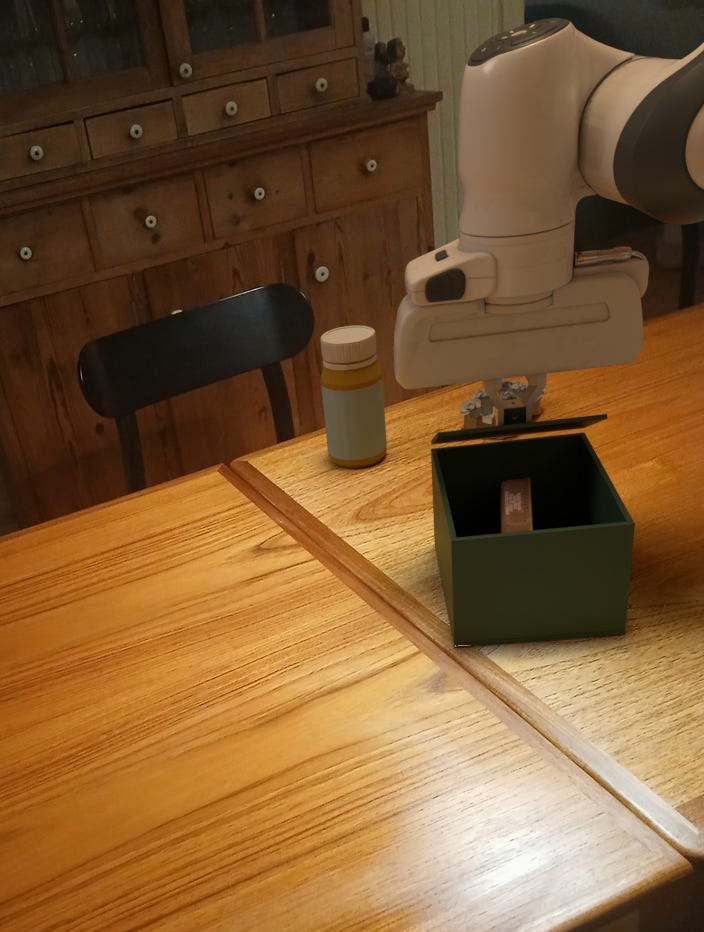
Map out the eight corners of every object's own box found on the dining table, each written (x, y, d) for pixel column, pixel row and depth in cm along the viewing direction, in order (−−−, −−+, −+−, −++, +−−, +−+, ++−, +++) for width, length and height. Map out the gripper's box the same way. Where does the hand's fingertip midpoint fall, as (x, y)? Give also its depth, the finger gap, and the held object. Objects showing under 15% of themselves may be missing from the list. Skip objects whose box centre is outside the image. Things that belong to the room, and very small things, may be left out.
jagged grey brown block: (510, 443, 116) (511, 410, 113) (453, 434, 120) (452, 402, 118) (551, 408, 122) (552, 376, 120) (495, 401, 126) (495, 370, 124)
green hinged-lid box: (454, 647, 84) (451, 540, 78) (434, 545, 99) (430, 448, 93) (625, 634, 82) (635, 523, 76) (579, 531, 97) (584, 432, 91)
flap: (437, 437, 84) (437, 432, 84) (431, 444, 93) (431, 440, 93) (607, 418, 82) (607, 413, 82) (584, 428, 91) (584, 423, 91)
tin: (538, 627, 84) (540, 541, 79) (500, 627, 85) (500, 542, 80) (534, 540, 96) (536, 461, 91) (500, 541, 97) (501, 462, 92)
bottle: (324, 451, 122) (311, 331, 113) (379, 441, 122) (371, 320, 113) (334, 474, 116) (322, 349, 108) (393, 463, 116) (385, 337, 108)
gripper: (640, 233, 80) (627, 395, 88) (387, 267, 83) (395, 421, 91) (662, 252, 75) (646, 423, 83) (391, 287, 78) (400, 449, 86)
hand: (513, 422), depth 87 cm, fingers closed
